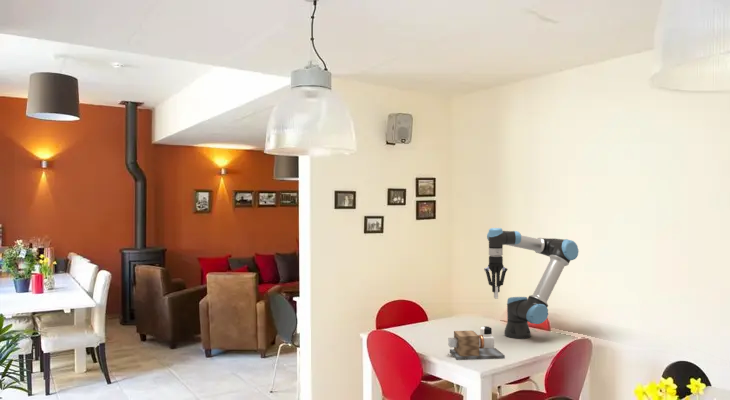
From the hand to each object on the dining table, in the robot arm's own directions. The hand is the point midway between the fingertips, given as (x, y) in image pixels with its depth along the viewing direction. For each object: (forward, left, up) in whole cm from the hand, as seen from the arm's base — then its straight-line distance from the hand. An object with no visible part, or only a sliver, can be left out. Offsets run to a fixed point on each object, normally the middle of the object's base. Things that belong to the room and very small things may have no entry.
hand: (495, 298), depth 303 cm
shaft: (+22, +18, -23) cm, 37 cm away
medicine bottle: (+8, +7, -27) cm, 29 cm away
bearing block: (+17, +18, -26) cm, 36 cm away
